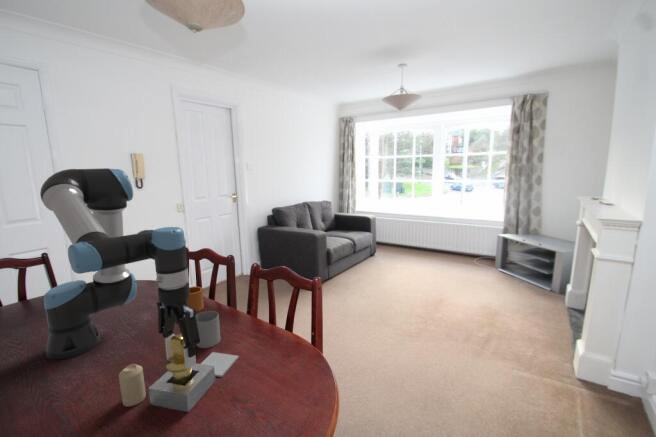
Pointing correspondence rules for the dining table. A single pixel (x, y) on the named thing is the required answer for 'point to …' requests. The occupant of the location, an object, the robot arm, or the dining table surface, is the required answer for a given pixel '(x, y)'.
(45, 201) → the robot arm
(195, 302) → the mug
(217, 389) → the dining table surface
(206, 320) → the cup
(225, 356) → the mat
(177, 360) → the gold flanged shaft
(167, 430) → the dining table surface
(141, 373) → the candle
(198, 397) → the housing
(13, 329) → the dining table surface
